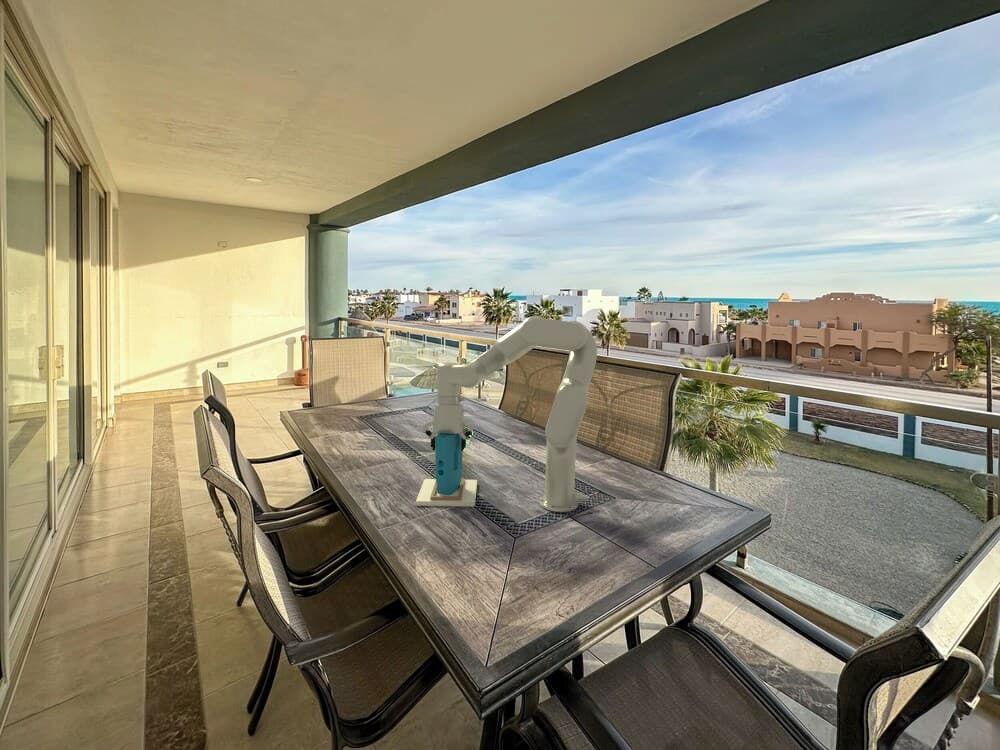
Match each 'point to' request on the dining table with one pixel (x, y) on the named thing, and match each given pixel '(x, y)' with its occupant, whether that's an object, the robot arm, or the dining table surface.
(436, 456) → the block
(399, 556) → the dining table surface
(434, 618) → the dining table surface
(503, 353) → the robot arm
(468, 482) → the base board
